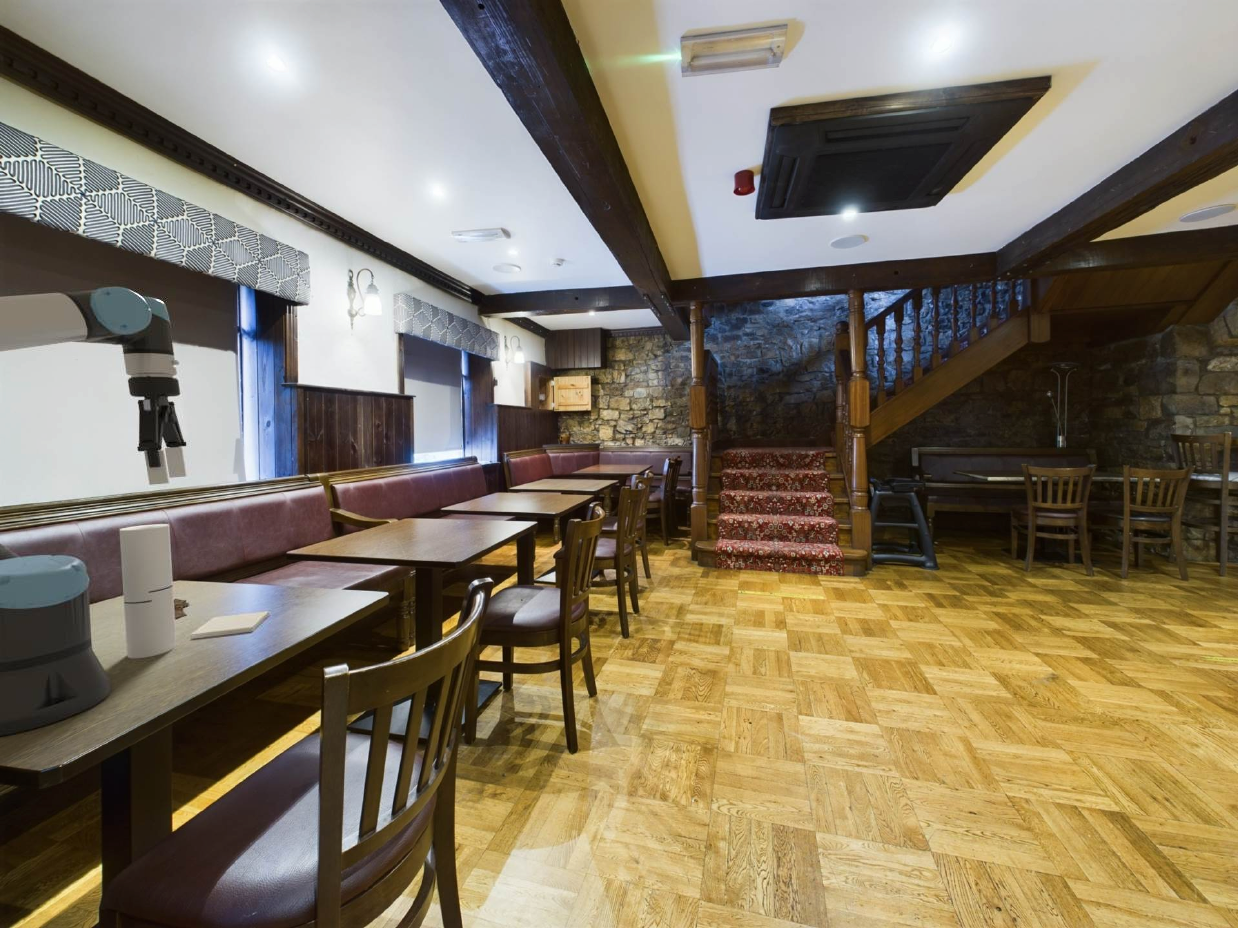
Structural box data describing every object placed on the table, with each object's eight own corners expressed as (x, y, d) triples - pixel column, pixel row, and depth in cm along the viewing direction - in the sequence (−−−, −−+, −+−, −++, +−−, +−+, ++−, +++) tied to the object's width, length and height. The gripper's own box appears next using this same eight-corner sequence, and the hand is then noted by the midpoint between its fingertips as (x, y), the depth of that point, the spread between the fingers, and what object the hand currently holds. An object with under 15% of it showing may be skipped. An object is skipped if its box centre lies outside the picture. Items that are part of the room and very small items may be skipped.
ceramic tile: (252, 631, 108) (252, 626, 108) (190, 638, 105) (190, 634, 105) (269, 615, 119) (269, 611, 119) (213, 621, 115) (213, 617, 115)
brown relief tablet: (185, 620, 116) (185, 616, 116) (120, 632, 110) (119, 628, 110) (191, 595, 137) (191, 591, 137) (136, 604, 130) (136, 600, 130)
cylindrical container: (181, 647, 100) (174, 525, 99) (133, 661, 94) (125, 531, 93) (169, 640, 104) (162, 523, 103) (122, 653, 98) (114, 528, 97)
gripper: (159, 371, 91) (176, 484, 93) (192, 380, 112) (205, 472, 115) (102, 371, 87) (122, 489, 90) (148, 381, 109) (163, 476, 111)
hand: (169, 480), depth 102 cm, fingers open, 13 cm apart
